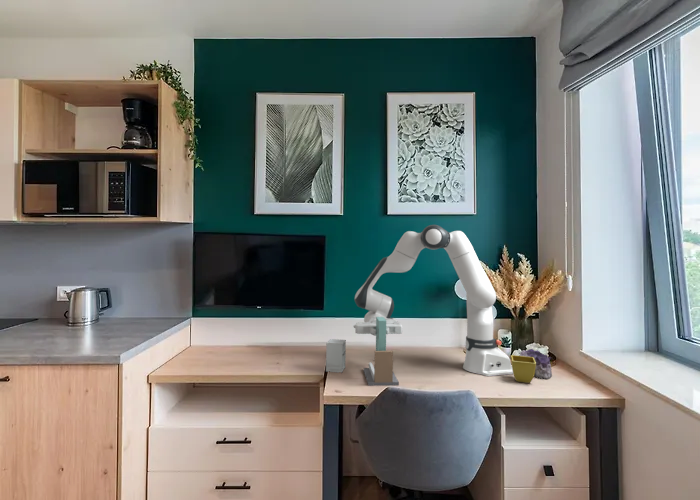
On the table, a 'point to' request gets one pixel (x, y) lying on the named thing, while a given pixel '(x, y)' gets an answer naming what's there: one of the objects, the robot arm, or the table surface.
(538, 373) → the geode
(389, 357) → the track base
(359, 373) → the table surface
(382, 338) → the teal rectangular block
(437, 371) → the table surface
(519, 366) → the flower pot
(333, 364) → the supplement box
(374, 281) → the robot arm
